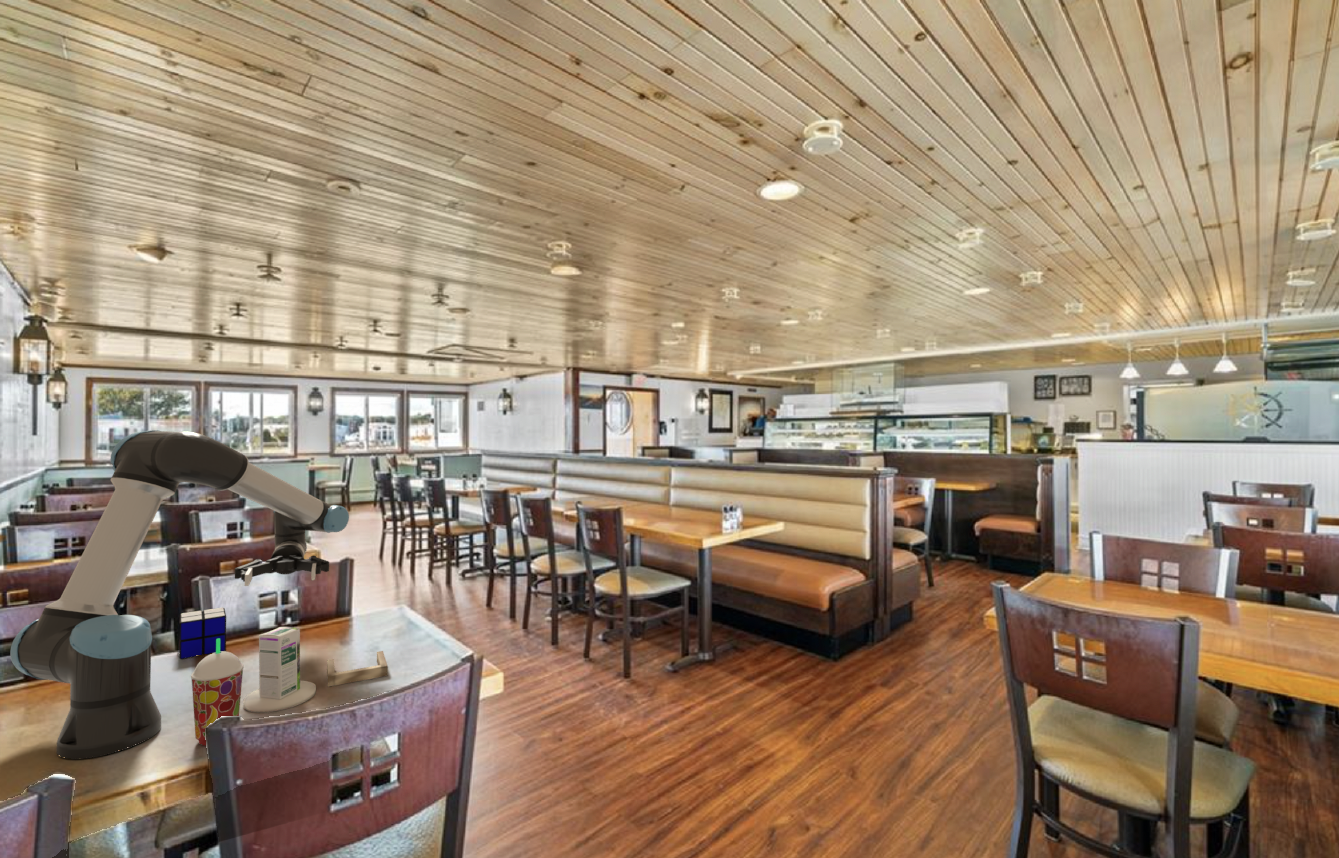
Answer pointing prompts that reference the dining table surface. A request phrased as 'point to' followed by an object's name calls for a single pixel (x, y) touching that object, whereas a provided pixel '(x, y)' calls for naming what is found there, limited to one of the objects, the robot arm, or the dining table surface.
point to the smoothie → (216, 689)
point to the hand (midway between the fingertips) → (280, 577)
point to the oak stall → (357, 672)
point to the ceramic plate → (269, 705)
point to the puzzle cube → (202, 632)
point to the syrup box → (279, 662)
